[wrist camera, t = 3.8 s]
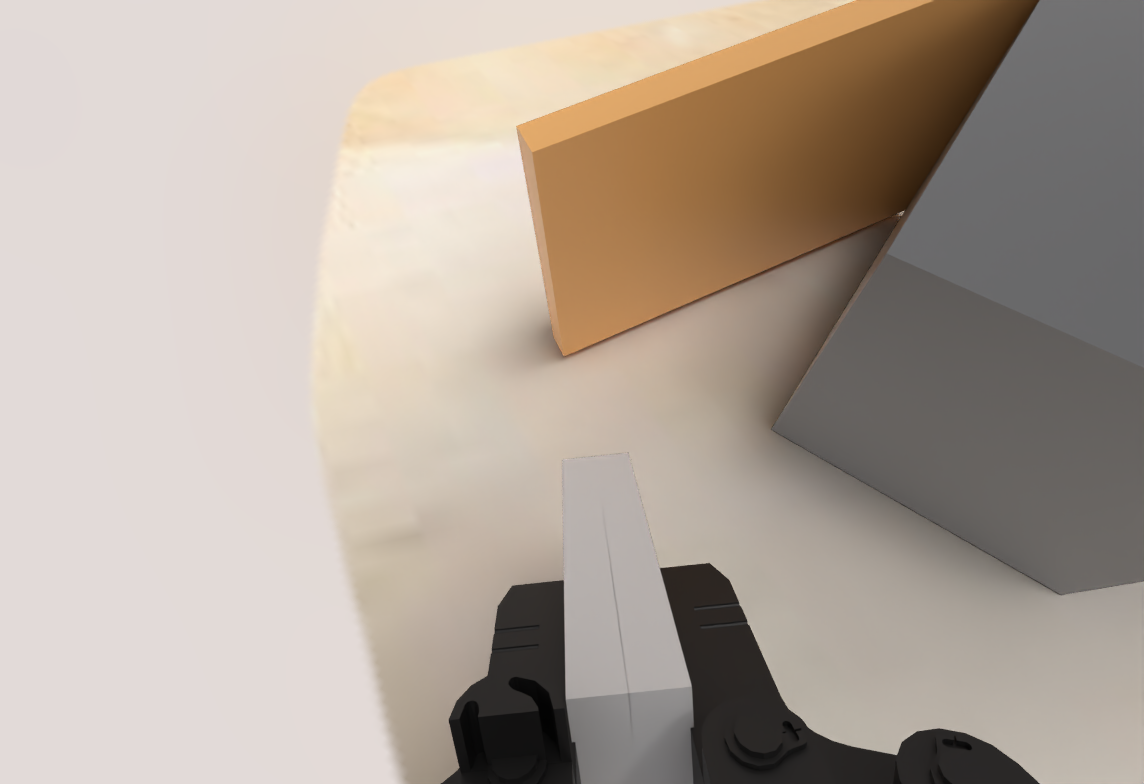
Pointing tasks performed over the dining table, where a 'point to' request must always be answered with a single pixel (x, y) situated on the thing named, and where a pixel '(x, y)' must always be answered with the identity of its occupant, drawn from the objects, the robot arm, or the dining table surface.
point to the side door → (749, 155)
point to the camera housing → (1011, 317)
